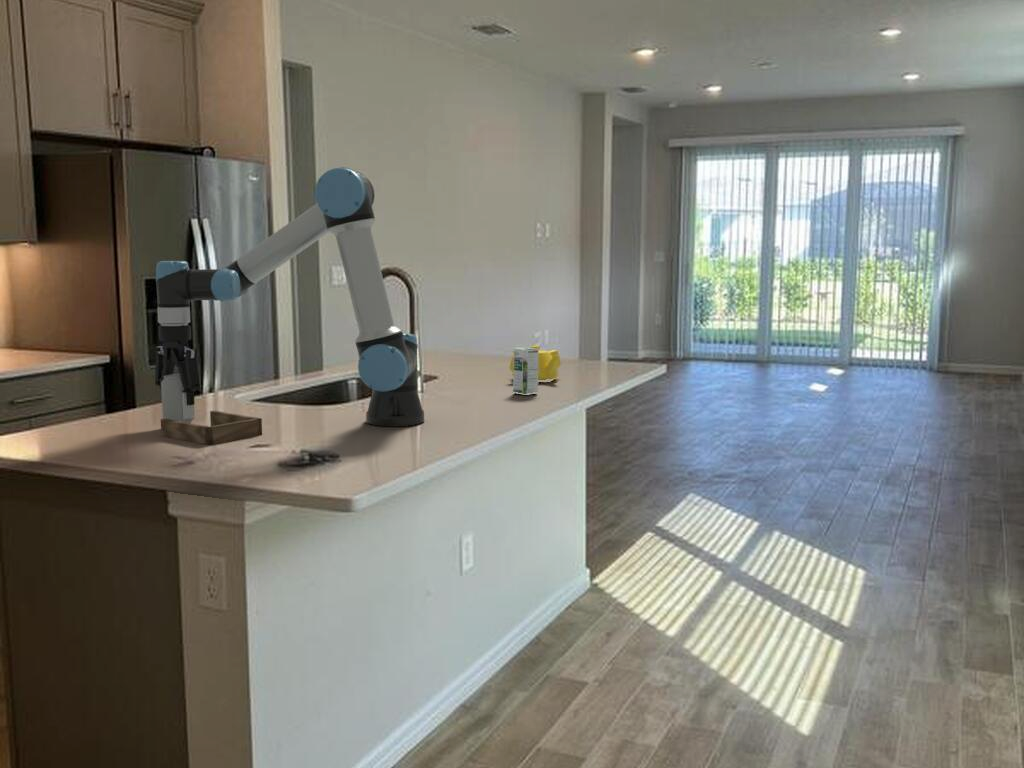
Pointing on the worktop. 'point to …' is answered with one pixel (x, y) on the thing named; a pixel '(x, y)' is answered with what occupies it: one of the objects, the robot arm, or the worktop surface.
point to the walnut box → (214, 428)
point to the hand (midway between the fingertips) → (178, 416)
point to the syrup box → (525, 370)
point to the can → (173, 398)
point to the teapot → (544, 364)
